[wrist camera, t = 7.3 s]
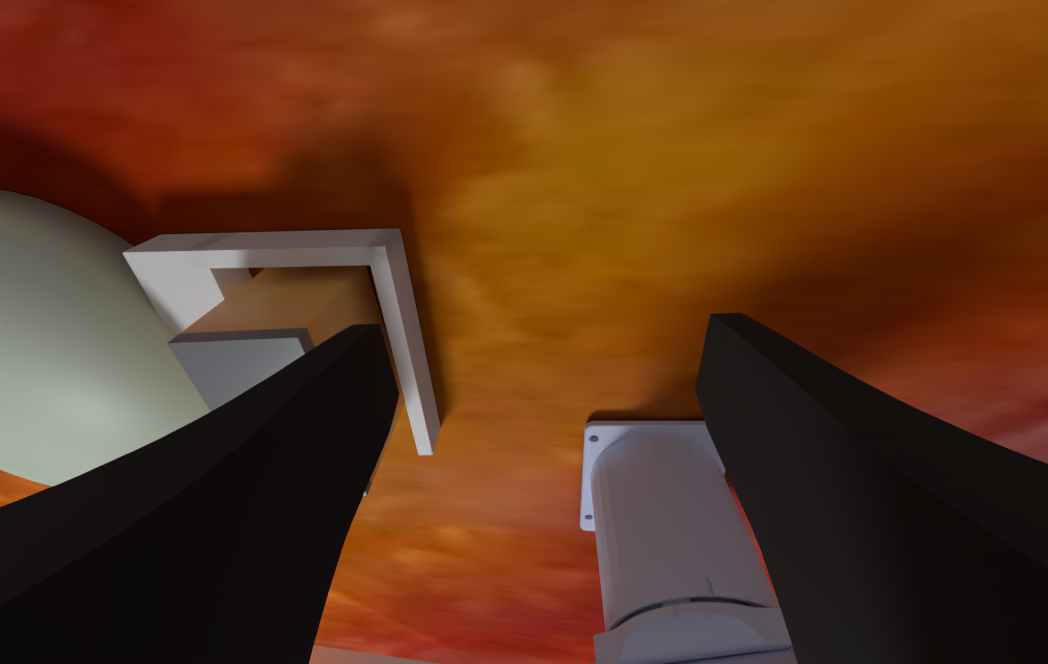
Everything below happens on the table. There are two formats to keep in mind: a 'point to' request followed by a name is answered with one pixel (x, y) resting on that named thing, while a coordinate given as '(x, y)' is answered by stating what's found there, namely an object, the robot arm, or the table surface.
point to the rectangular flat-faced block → (276, 329)
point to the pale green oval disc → (148, 329)
